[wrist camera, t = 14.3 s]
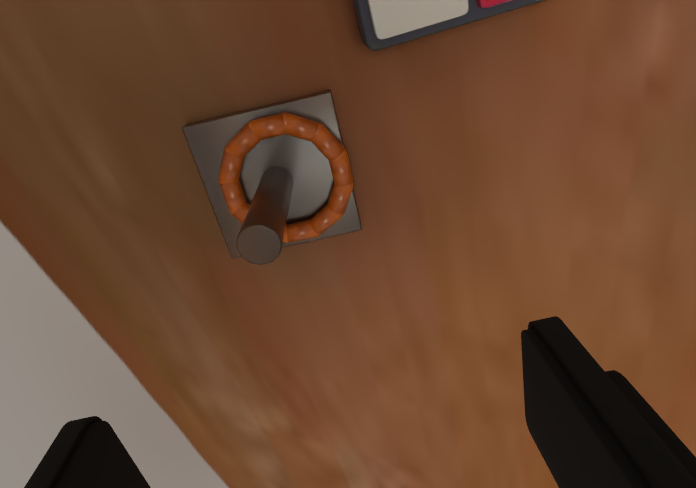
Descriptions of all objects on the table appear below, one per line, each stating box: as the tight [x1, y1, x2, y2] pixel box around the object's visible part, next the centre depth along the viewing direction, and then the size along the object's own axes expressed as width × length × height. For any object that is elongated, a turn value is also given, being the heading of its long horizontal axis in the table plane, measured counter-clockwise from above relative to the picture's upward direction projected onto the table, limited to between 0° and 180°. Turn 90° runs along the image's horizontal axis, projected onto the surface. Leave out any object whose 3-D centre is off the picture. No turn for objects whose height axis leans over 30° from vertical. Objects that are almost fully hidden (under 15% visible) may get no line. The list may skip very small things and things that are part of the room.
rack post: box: [182, 90, 362, 265], centre depth 24 cm, size 9×9×10 cm
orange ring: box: [218, 112, 354, 243], centre depth 27 cm, size 8×8×1 cm
